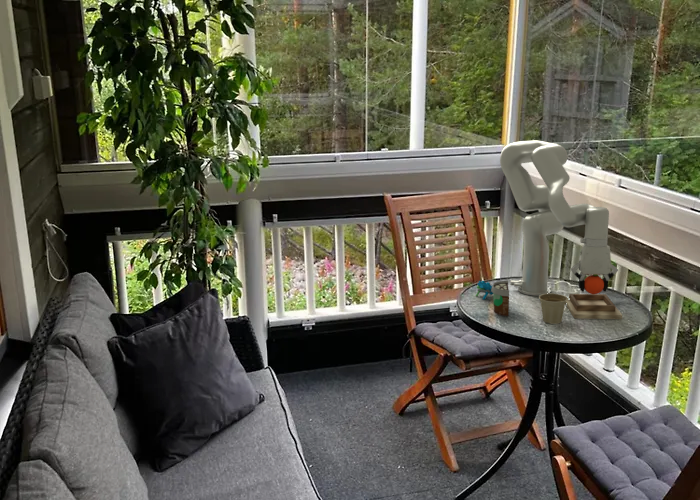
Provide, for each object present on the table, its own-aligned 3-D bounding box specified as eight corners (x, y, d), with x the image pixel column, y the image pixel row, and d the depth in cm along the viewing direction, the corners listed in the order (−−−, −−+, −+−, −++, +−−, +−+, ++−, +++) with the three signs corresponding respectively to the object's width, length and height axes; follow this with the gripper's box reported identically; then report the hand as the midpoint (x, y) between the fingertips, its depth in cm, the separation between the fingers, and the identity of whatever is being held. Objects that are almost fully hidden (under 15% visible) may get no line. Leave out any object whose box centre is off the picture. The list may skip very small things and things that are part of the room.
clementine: (587, 289, 229) (588, 270, 227) (607, 292, 225) (608, 273, 223) (580, 294, 223) (580, 275, 222) (599, 297, 219) (600, 278, 217)
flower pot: (532, 319, 218) (533, 295, 216) (553, 314, 221) (554, 291, 219) (550, 328, 210) (551, 303, 207) (572, 323, 213) (573, 299, 211)
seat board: (574, 318, 217) (574, 308, 216) (562, 299, 236) (563, 290, 236) (622, 319, 215) (622, 309, 214) (606, 300, 234) (607, 291, 233)
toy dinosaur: (507, 295, 239) (492, 280, 234) (500, 308, 237) (485, 293, 233) (487, 291, 248) (472, 277, 244) (480, 304, 246) (465, 290, 242)
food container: (490, 305, 233) (491, 279, 230) (507, 306, 232) (508, 280, 229) (490, 317, 221) (491, 290, 219) (508, 317, 220) (509, 290, 217)
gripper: (572, 244, 217) (570, 293, 221) (624, 244, 215) (621, 293, 219) (568, 240, 224) (565, 287, 229) (618, 239, 222) (615, 287, 226)
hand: (593, 289), depth 224 cm, fingers closed on clementine, 7 cm apart
